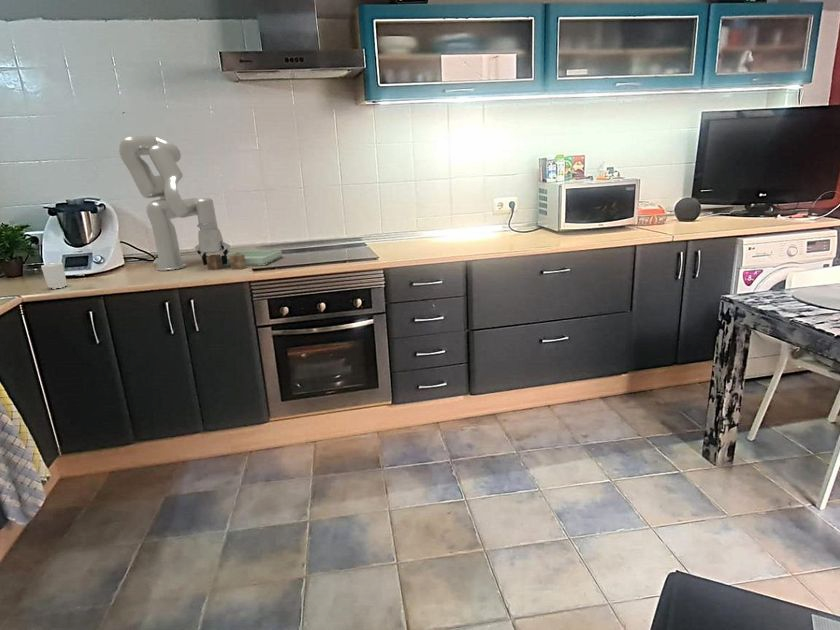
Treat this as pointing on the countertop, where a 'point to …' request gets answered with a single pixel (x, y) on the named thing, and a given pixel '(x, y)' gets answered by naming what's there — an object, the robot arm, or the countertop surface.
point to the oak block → (238, 261)
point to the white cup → (54, 274)
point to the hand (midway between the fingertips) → (215, 264)
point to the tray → (256, 257)
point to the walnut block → (214, 262)
